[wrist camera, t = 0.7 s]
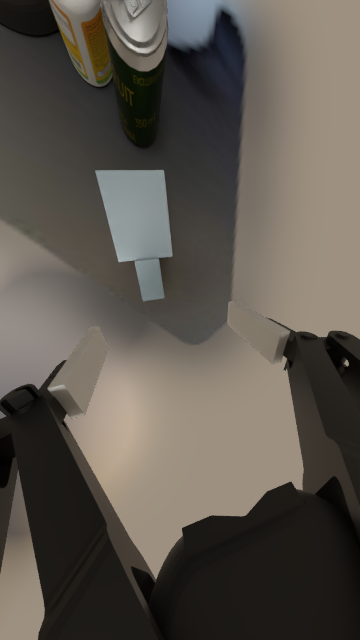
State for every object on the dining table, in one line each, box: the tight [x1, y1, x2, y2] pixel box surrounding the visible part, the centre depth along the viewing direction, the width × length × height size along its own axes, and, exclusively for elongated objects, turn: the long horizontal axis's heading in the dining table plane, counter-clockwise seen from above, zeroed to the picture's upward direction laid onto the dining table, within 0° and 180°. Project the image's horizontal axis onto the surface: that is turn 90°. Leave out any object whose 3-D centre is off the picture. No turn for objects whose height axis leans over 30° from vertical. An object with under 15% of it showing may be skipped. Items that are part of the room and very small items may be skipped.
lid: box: [95, 170, 172, 301], centre depth 21 cm, size 17×9×4 cm, turn 5°
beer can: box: [100, 0, 168, 146], centre depth 16 cm, size 5×5×12 cm
